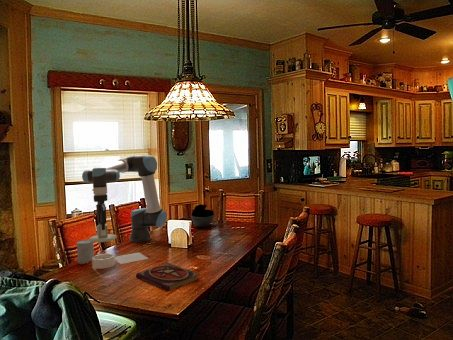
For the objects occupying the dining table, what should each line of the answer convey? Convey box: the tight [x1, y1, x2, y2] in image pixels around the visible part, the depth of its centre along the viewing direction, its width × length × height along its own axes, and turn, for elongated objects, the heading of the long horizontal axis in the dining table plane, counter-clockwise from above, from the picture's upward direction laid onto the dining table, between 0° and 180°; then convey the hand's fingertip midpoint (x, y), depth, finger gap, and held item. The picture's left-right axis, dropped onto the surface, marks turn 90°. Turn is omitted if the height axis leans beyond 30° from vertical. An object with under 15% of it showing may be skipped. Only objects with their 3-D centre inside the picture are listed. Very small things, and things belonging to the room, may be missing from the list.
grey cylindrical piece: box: [76, 239, 95, 265], centre depth 226 cm, size 10×10×12 cm
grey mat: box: [115, 251, 149, 265], centre depth 227 cm, size 17×17×1 cm
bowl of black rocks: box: [190, 204, 216, 228], centre depth 313 cm, size 20×20×19 cm
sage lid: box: [88, 223, 117, 243], centre depth 213 cm, size 15×15×8 cm
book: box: [135, 262, 201, 292], centre depth 192 cm, size 28×21×5 cm
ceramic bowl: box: [91, 253, 116, 271], centre depth 214 cm, size 12×12×6 cm
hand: (102, 234), depth 213 cm, fingers closed on sage lid, 3 cm apart
